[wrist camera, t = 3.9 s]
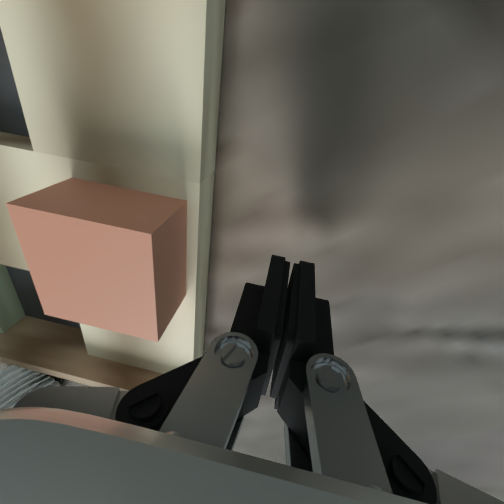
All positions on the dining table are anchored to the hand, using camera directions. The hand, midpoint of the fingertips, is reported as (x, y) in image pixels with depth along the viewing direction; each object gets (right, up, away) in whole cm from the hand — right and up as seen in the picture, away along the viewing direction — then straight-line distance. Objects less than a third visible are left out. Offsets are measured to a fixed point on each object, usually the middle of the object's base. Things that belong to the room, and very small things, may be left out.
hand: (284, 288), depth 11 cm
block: (-7, +2, +2) cm, 7 cm away
